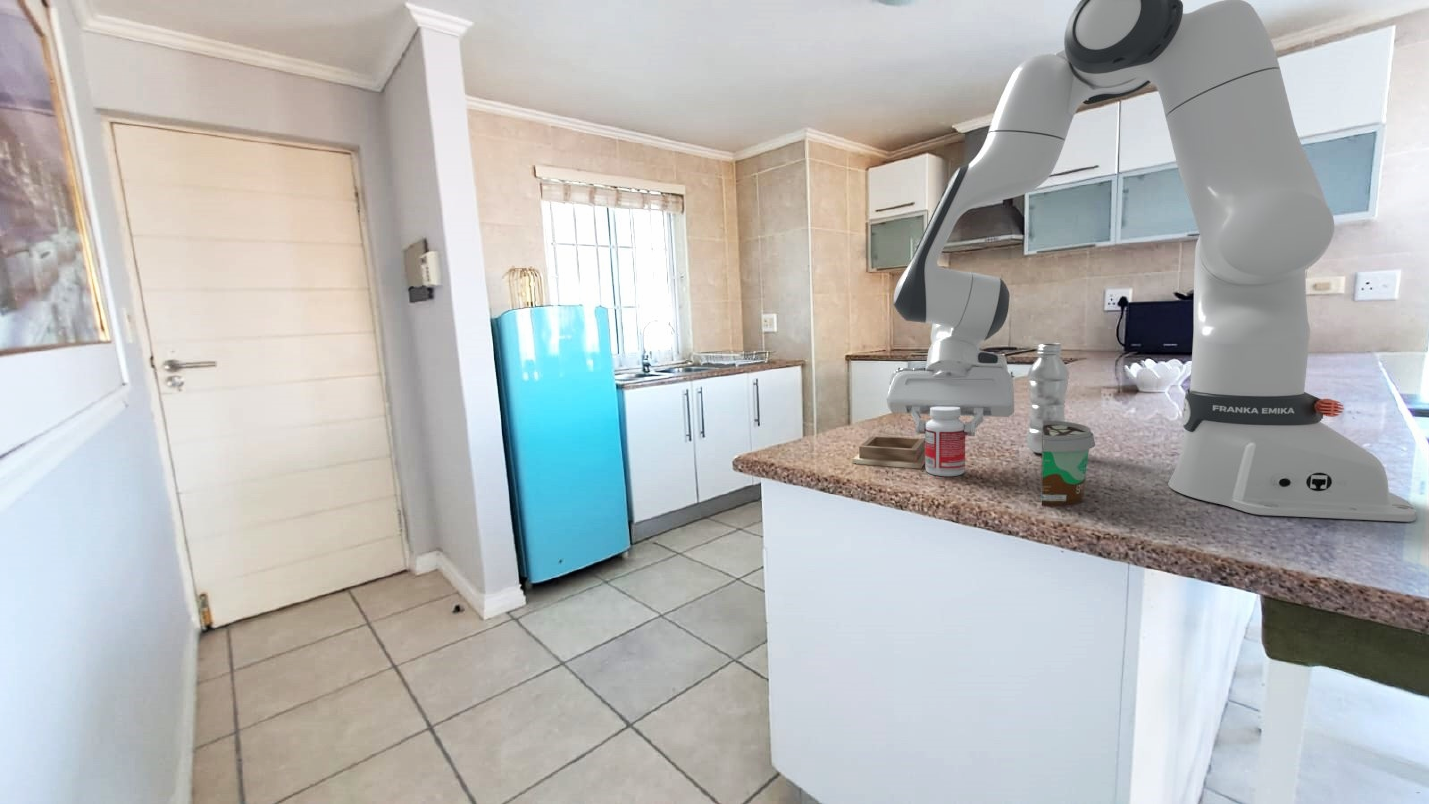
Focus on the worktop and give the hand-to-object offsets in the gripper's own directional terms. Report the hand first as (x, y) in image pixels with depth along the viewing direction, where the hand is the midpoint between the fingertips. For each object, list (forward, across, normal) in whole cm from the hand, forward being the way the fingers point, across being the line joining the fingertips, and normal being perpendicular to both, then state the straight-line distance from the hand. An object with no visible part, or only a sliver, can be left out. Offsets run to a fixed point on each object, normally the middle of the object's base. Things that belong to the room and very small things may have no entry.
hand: (944, 433), depth 92 cm
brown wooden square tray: (0, -10, +10) cm, 14 cm away
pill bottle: (+5, 0, +6) cm, 7 cm away
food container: (+10, +17, 0) cm, 20 cm away
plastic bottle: (-8, +15, +18) cm, 25 cm away
